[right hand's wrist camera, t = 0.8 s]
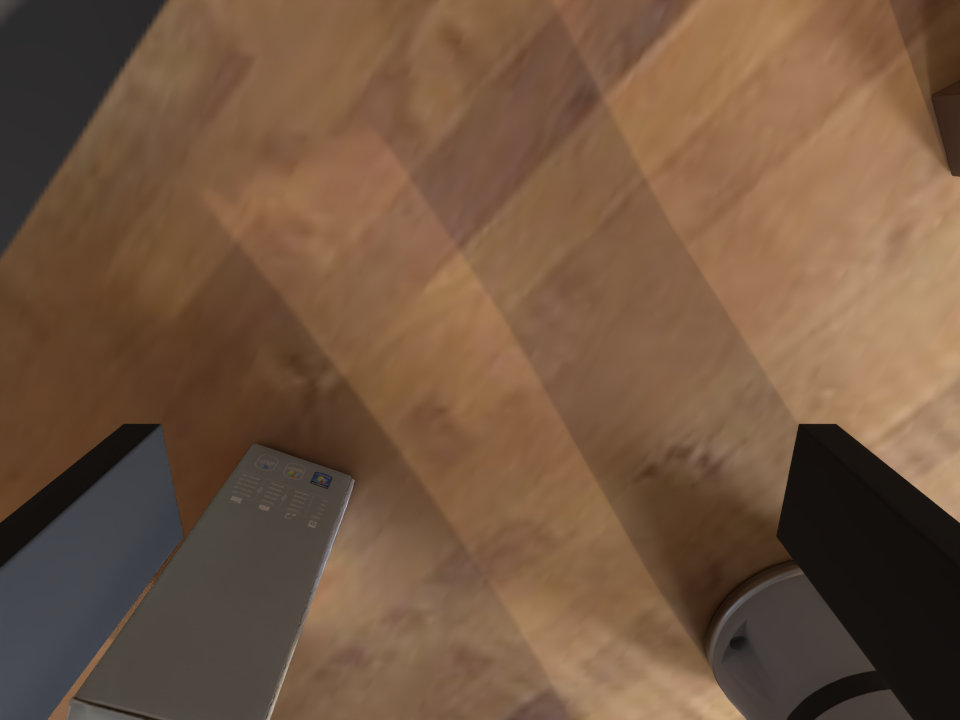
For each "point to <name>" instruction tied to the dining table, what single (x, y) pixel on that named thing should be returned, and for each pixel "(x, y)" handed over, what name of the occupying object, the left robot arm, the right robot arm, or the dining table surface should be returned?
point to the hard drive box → (226, 601)
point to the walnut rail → (949, 123)
